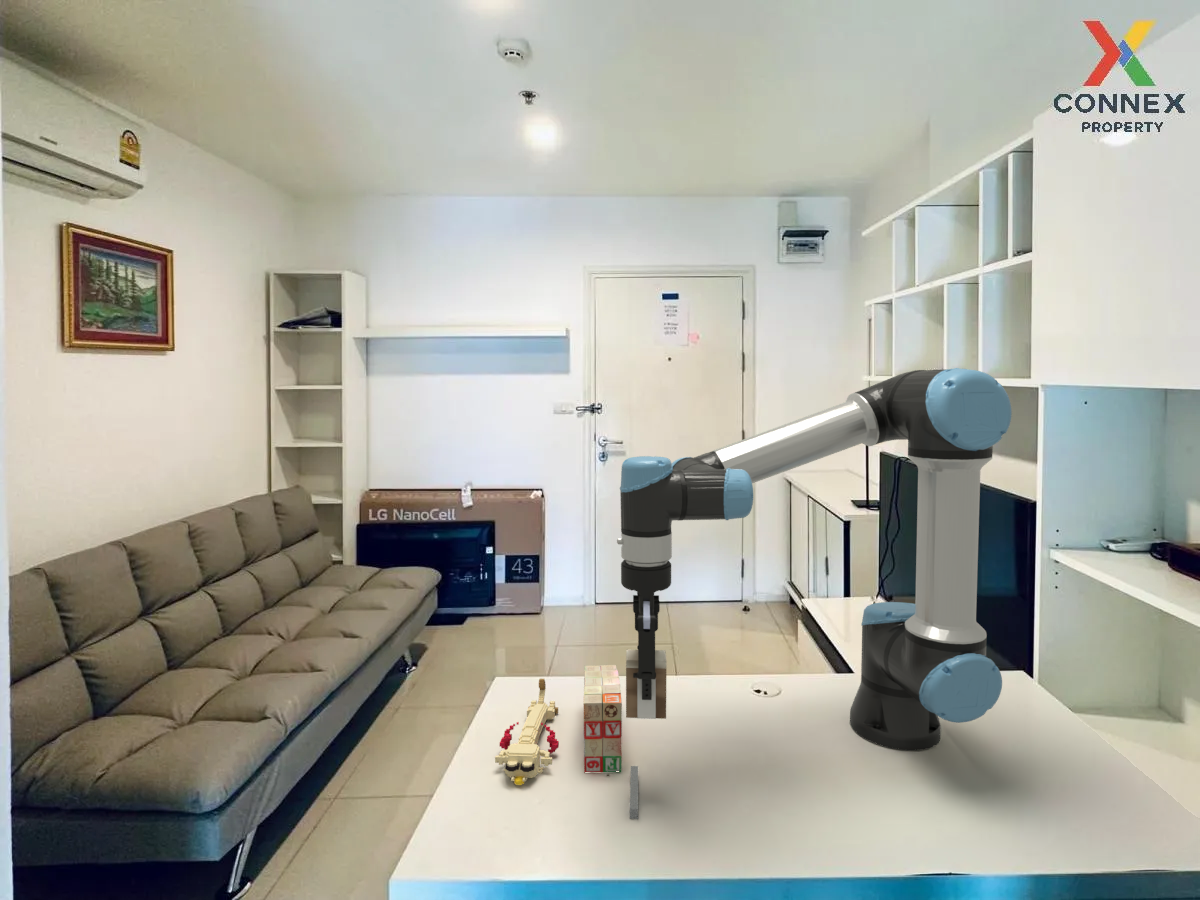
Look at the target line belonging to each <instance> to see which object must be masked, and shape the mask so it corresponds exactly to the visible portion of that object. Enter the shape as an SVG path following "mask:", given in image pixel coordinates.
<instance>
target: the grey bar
mask: <svg viewBox="0 0 1200 900" xmlns="http://www.w3.org/2000/svg"><path fill="white" fill-rule="evenodd" d="M629 777H630V780H629V783H630V784H629V819H630V820H638V819H639V765H630V776H629Z"/></svg>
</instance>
